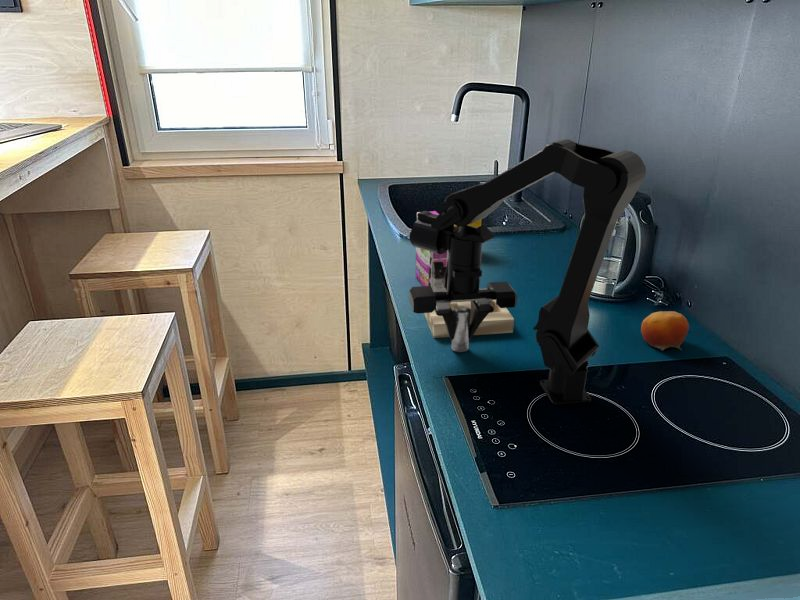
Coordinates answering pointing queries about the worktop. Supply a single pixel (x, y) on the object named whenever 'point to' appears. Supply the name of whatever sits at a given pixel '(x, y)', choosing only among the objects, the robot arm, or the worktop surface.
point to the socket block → (490, 325)
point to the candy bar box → (429, 266)
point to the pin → (461, 328)
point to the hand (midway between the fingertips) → (460, 338)
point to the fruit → (665, 329)
